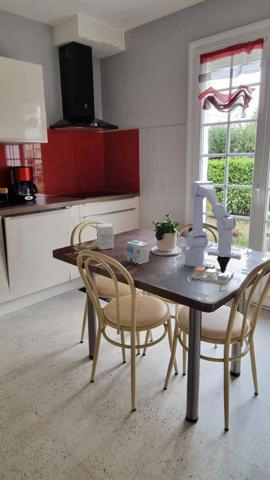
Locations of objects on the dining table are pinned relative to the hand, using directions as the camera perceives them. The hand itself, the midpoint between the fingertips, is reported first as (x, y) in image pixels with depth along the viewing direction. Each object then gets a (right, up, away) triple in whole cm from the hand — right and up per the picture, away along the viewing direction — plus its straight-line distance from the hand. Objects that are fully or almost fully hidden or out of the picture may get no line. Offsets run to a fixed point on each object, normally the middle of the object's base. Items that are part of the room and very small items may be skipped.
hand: (223, 272), depth 149 cm
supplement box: (-59, +9, +56) cm, 82 cm away
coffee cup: (-3, +10, +54) cm, 55 cm away
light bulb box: (-39, +3, +30) cm, 49 cm away
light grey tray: (-3, -3, +6) cm, 7 cm away
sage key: (+1, 0, +7) cm, 7 cm away
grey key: (-4, +1, +9) cm, 10 cm away
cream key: (-5, -1, +3) cm, 6 cm away
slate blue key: (0, -3, +1) cm, 3 cm away
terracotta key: (-9, 0, +6) cm, 11 cm away
